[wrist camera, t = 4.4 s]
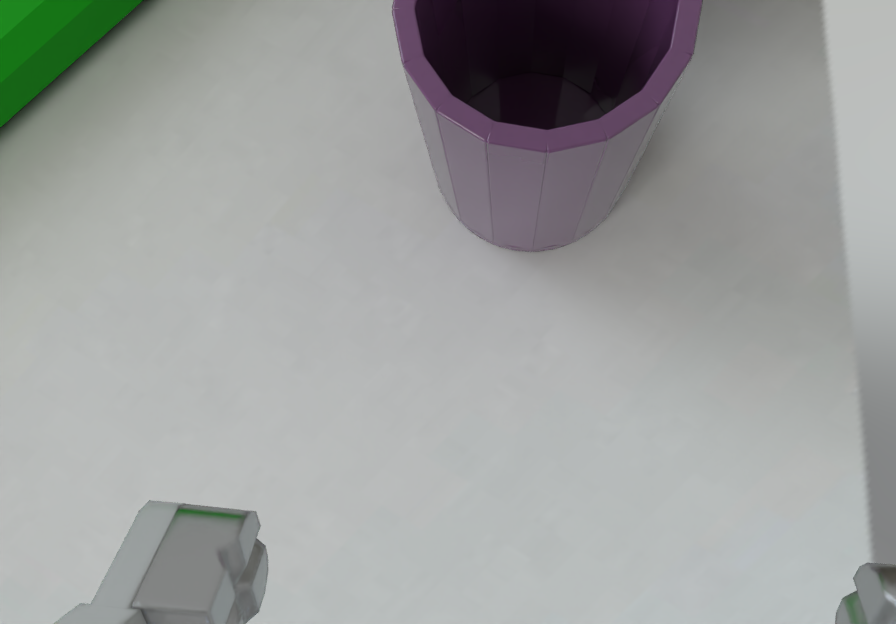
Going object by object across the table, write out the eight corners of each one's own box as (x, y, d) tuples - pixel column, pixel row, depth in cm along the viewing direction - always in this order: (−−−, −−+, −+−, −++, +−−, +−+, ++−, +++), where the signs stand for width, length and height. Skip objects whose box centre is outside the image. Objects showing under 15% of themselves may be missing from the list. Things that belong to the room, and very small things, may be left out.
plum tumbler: (664, 130, 26) (760, -45, 16) (559, 288, 26) (591, 208, 16) (504, 34, 27) (502, -187, 17) (399, 186, 27) (335, 49, 17)
